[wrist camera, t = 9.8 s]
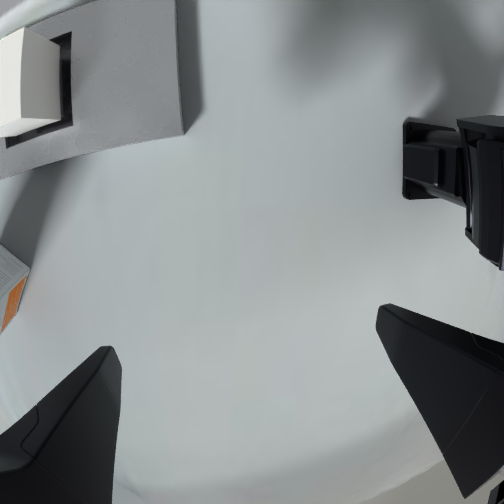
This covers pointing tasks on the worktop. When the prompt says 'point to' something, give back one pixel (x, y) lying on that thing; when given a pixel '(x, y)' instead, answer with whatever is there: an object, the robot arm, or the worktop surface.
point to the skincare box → (10, 285)
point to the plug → (29, 82)
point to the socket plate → (106, 82)
